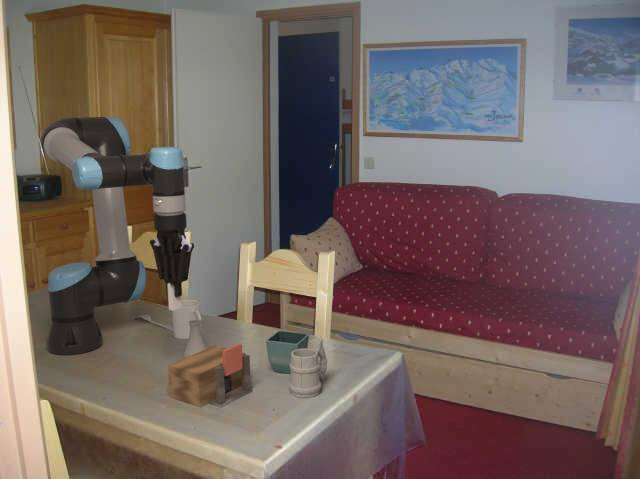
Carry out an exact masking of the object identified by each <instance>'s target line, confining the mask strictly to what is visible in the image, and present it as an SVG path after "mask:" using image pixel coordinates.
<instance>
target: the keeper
mask: <svg viewBox="0 0 640 479" xmlns="http://www.w3.org/2000/svg"><path fill="white" fill-rule="evenodd" d="M226 348H227V349H224V350H222V355H223V367H224V376H228V375H230V374H232V373H234V372H236V371H238V370H241V369H243V363H242V352H243V344H242V343H239V342H238V343H236V344H234V345H232V346H229V347H226Z"/></svg>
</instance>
